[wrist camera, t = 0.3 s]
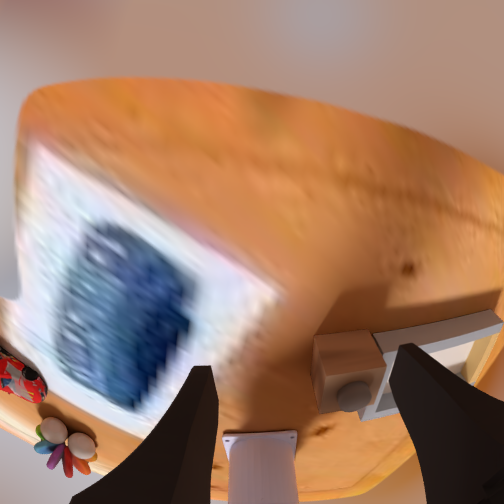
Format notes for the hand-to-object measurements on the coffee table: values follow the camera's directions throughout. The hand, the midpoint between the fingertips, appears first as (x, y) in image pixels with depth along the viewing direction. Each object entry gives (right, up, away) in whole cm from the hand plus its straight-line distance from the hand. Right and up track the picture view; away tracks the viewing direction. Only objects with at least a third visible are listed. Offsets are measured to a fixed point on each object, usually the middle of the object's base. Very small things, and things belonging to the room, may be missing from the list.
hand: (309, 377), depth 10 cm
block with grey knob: (+5, -4, +13) cm, 14 cm away
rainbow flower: (-28, -21, +20) cm, 40 cm away
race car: (-32, -8, +14) cm, 36 cm away
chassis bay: (+15, -6, +14) cm, 21 cm away
